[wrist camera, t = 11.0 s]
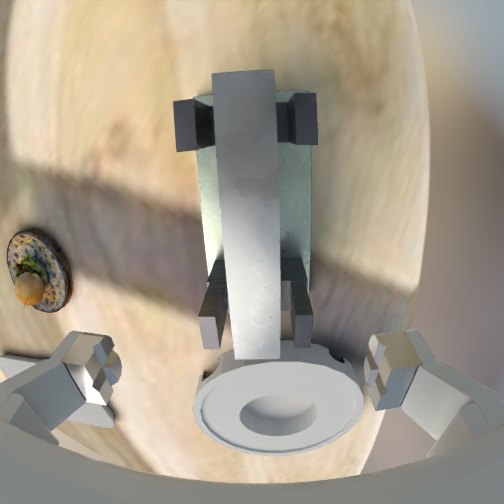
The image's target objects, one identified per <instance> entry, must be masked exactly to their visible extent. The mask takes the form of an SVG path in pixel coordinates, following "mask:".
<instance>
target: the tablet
mask: <svg viewBox="0 0 504 504" xmlns="http://www.w3.org/2000/svg"><path fill="white" fill-rule="evenodd" d="M41 361H43V359H35V358H27V357H21V356H14V355H8V354H6V355H5V356H4V355H1V356H0V366H1V367H2V369H3V370H4V372H5V373H6V375H7V376H8V378H11V377H13V376H15V375H16V374H18V373H20V372H22V371H24V370H26V369H28V368H30V367H31V366H33V365H35V364H37V363H39V362H41ZM113 417H114V415H113V413H112V411H111V410H110V408H109V407H108V406H107V405H101V404H96V403H91V402H86V403H85V404H84V405H83V406H81V407H80V408H79V409H78V410H77V411H75V412H74V413H73V414H72V415H70V416H69V417H68V418H67V420H71V421H75V422H80V423H84V424H89V425H94V426H99V427H105V428H112V427H113V426H114V424H115V420H114V418H113Z"/></svg>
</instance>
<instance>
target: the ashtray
mask: <svg viewBox="0 0 504 504" xmlns="http://www.w3.org/2000/svg"><path fill="white" fill-rule="evenodd" d="M218 360H219V364H218V367H217V368H216V370H215V371H214V372H213V373H212V374H211V375H210V376H209V377H208V378H205V379H204V377H203V374H204V372H203V373H202V374H201V376H200V378H199V382H198V387H197V391H196V395H195V399H194V404H193V408H192V410H193V414H194V418H195V422H196V423H197V424H198V426H199V427H200V428H201V430H202V431H203V432H204V433H205V434H206V435H208V436H209V437H210V438H211V439H213V440H214V441H215V442H218V443H220V444H222V445H224V446H226V447H228V448H230V449H233V450H237V451H240V452H244V453H248V454H255V455H263V456H284V455H292V454H299V453H304V452H307V451H311V450H314V449H318V448H321V447H323V446H325V445H327V444H329V443H331V442H333V441H335V440H337V439H338V438H340V437H341V436H343V435H344V434H345V433H347V432H348V431H349V430H350V429H351V428H352V427H353V426H354V425H355V423H356V422H357V421H358V420H359V417H360V415H361V413H362V411H363V393H362V390H361V386H360V383H359V380H358V376H357V375H356V373H355V371H354V369H353V367H352V365H351V363H349V362H348V361H347V360H346V359H345V358H344V357H343V363H341V362H338V361H336V360H335V359H334V358H332V356H331V355H330V354H329V349H328V348H326V347H324V346H321V345H318V344H313V343H311V348H294V340H280V359H235V354H234V350H231V351H229V352H226V353H224V354H223V355H221V356H220V358H219V359H218ZM344 360H345V361H344ZM204 376H205V375H204Z"/></svg>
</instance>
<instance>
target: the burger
mask: <svg viewBox="0 0 504 504" xmlns="http://www.w3.org/2000/svg"><path fill="white" fill-rule="evenodd" d="M45 235H46V234H45ZM45 235H44V234H43V232H42V231H39V230H37V229H35V228H33V229H30V230H26V231H20V232H18V233H16V234H15V235H14V236H13V238H12V239H11V240H10V242H9V245H8V249H7V264H8V268H9V271H10V275H11V278H12V281H13V282H14V284H15V293H16V296H17V298H18V299H19V300H20V301H21V302H22V303H24V304H25V305H31V306H33V307H34V308H35V309H37V310H40V311H42V312H46V313H47V312H48V313H53V312H57V311H59V310H60V309H61V308H63V307H64V306H65V305H66V304H67V303H68V302H69V299H70V297H71V295H72V291H73V281H72V275H71V271H70V268H69V265H68V263H67V260H66V258H65V256H64V254H63V253H62V251H61V249H60V248H59V246H58V245H57V244H56V242H55V241H54V240H51V238H49V237H46V236H47V235H46V236H45ZM24 307H25V306H24Z"/></svg>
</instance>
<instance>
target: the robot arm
mask: <svg viewBox="0 0 504 504" xmlns="http://www.w3.org/2000/svg"><path fill="white" fill-rule="evenodd" d="M113 348H114V343H113V341H112V338H111V337H109V336H107V335H100V334H93V333H86V332H78V331H72V332H70V333H69V334H68V335H67V336H66V338H65V339H64V340H63V341H62V343H61V344H60V345H59V347H58V348H57V349H56V351H55V352H54V353H53V355H52V356H51V357H50V359H45V360H43V361H41V362H39V363H37V364H35V365H33V366H31V367H30V368H28V369H26V370H24V371H22V372H20V373H18V374H16V375H15V376H13V377H11V378H9V379H7V380H5V381H3V382H2V383H0V504H504V403H503V401H502V400H501V398H500V397H499V395H498V393H497V392H496V391H494V390H492V389H490V388H488V387H487V386H485V385H483V384H481V383H480V382H478V381H476V380H474V379H472V378H471V377H469V376H467V375H465V374H464V373H462V372H460V371H458V370H457V369H455V368H453V367H451V366H450V365H448V364H446V363H444V362H442V361H440V362H438V361H437V360H436V358H435V356H434V355H433V353H432V351H431V349H430V348H429V346H428V345H427V343H426V342H425V340H424V338H423V337H422V335H421V333H420V332H419V330H417V329H410V330H404V331H399V332H392V333H384V334H375V335H372V336H371V338H370V341H369V348H370V350H371V351H370V352H369V353H368V354H367V355H366V357H365V362H364V376H365V380H366V383H367V385H369V386H370V387H371V388H372V391H371V394H370V396H371V399H372V402H373V405H374V408H375V411H378V410H384V409H390V408H396V407H400V408H401V409H402V410H403V411H404V412H405V413H406V414H407V415H409V416H410V417H411V418H412V419H413V420H414V421H415V422H416V423H418V424H419V425H420V426H421V427H422V428H423V429H424V430H425V431H427V432H428V433H429V434H430V435H431V436H432V437H433V438H434V439H436V440H437V441H436V443H435V444H434V445H433V447H432V448H431V449H430V450H429V452H428V453H427V455H426V456H427V459H423V460H420V461H416V462H413V463H409V464H406V465H402V466H398V467H394V468H390V469H386V470H381V471H377V472H372V473H367V474H362V475H356V476H350V477H344V478H337V479H329V480H320V481H310V482H296V483H272V484H250V483H225V482H212V481H202V480H193V479H185V478H178V477H171V476H165V475H160V474H154V473H149V472H144V471H140V470H135V469H131V468H127V467H123V466H119V465H115V464H112V463H108V462H104V461H101V460H97V459H94V458H91V457H88V456H85V455H82V454H79V453H76V452H73V451H71V450H68V449H66V448H63V447H60V446H58V444H59V442H58V439H57V438H56V437H55V436H54V435H53V434H52V433H51V431H52V430H53V429H54V428H56V427H57V426H58V425H59V424H61V423H62V422H63V421H64V420H66V419H67V418H68V417H69V416H70V415H72V414H73V413H74V412H75V411H77V410H78V409H79V408H80V407H81V406H83V405H84V404H85V403H86V402H91V403H96V404H101V405H107V403H108V401H109V399H110V397H111V395H112V393H113V388H112V385H114V384H115V383H117V382H118V380H119V378H120V376H121V370H122V365H121V360H120V358H119V355H118V354H117V353H116V352H114V351H113Z"/></svg>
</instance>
